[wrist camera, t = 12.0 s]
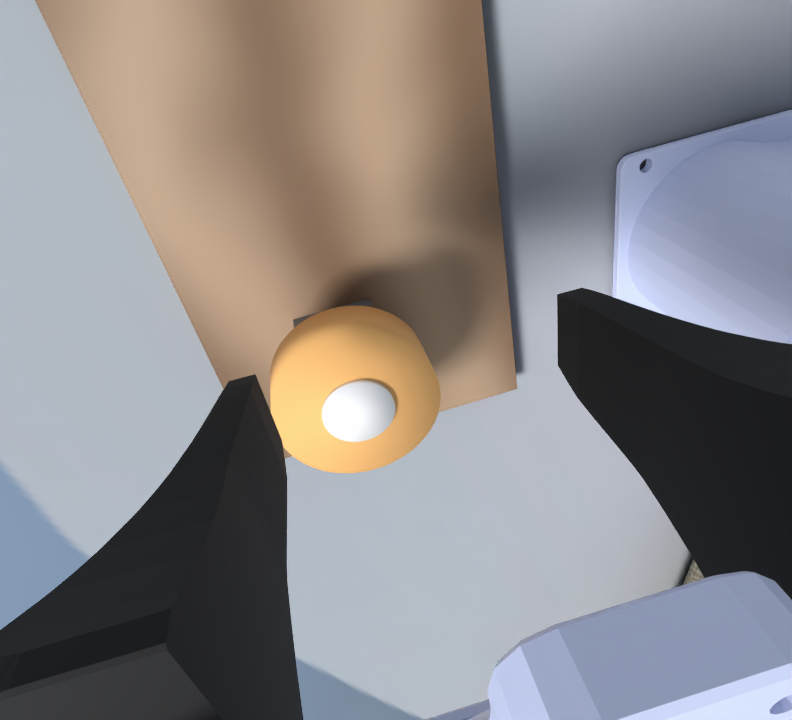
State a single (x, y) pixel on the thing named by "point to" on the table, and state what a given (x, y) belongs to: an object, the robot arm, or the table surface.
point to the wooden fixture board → (308, 167)
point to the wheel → (352, 390)
